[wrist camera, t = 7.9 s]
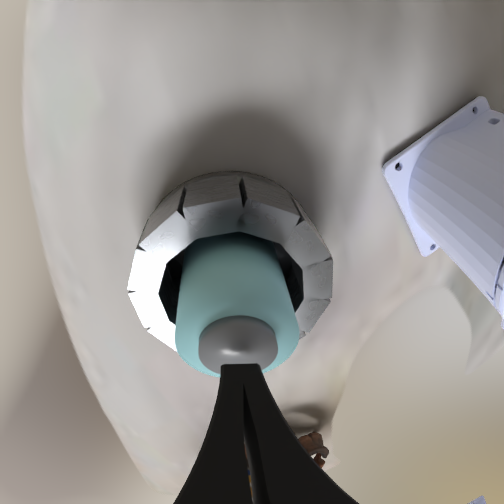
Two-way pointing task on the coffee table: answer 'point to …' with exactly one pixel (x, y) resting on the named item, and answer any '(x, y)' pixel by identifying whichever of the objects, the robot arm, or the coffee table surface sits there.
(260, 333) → the teal cylinder
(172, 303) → the faceted grey ring
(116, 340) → the coffee table surface
